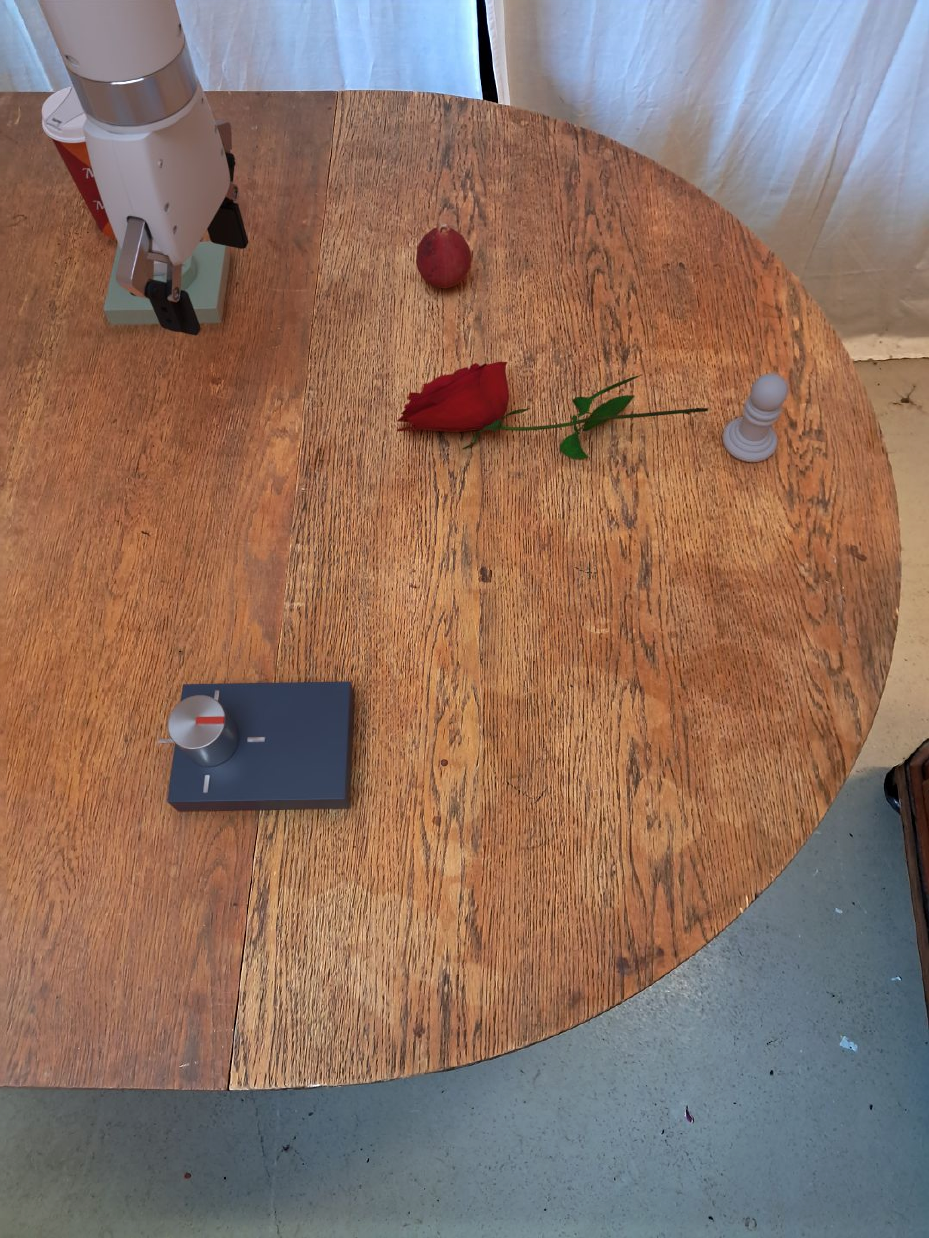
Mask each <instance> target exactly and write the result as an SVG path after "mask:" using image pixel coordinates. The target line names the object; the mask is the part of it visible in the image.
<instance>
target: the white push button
mask: <svg viewBox="0 0 929 1238" xmlns="http://www.w3.org/2000/svg"><path fill="white" fill-rule="evenodd" d="M152 250H156V251H161V250H160V249H159V248H158V247H157V245H156V244H155V243H154V240H153V244H152ZM161 252H162V251H161ZM166 274H167V263H163V262H158V261H154V276H164V275H166Z"/></svg>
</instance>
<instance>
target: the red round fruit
mask: <svg viewBox="0 0 929 1238" xmlns="http://www.w3.org/2000/svg"><path fill="white" fill-rule="evenodd" d="M415 265H416V269H417V271H418V273H419V274H420V276H421V278H422V280H423V281H424V282H426V283H427V284H429V285H430V286H432V287H435V288H439V289H448V288H451V287H454V286H457V285H459V284H461V282H462V281H464V280H465V278H466V277H467V276H468V273H469V271H470V270H471V268H472V252H471V247H470V245H469V244H468V242H467V240H466V239H465V237H464V236H463V235H462V234H461V233H460V232H458V231H457V230H455V229H453V228H451V227H450V225H449V223H447V222H442V223H441V224H440V225H438V226H436V227H434V228H432V229H430V230H429V231H428V232H427V233H425V234H424V235H423V237H422V238H421V240H420V241H419V243H418V244H417V248H416V259H415Z"/></svg>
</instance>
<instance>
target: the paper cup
mask: <svg viewBox="0 0 929 1238" xmlns="http://www.w3.org/2000/svg"><path fill="white" fill-rule="evenodd" d="M86 119H87V117H86V115H85V113H84V111H83V109H82V106H81V104H80V101H79V98H78V96H77V94H76V91H75V89H74V86H73V85H72V86H68V87H64V88H62V89H59V90H58V91H55V92H54V93H52V94H51V95H50V96H48V97H47V98H46V99H45V101H44V103H42V108H41V127H42V129H43V131H44V133H45V134H46V135H47V136H48V137H49V138H50V139H51V140H52V142H53V144H54V146H55V148H56V150H57V152H58V154H59V156H60V157H61V159H62V161H63V163H64V165H65V167H66V169H67V171H68V172H69V174H70V177H71V179H72V181H73V183H74V184H75V186H76V188H77V190H78V192H79V194H80V195H81V197H82V199H83V201H84V203H85V205H86V206H87V209H88V211H89V212H90V214H91V216H92V218H93V220H94V222H95V223H96V225H97V227H98V228H99V230H100V232H101V233H102V234H103V235H105V236H106V237H109V238H112V239H116V237H115V234H114V232H113V229H112V227H111V224H110V222H109V219H108V216H107V213H106V211H105V208H104V205H103V202H102V199H101V196H100V193H99V190H98V187H97V184H96V181H95V177H94V174H93V170H92V167H91V163H90V159H89V154H88V150H87V146H86V140H85V134H84V129H83V126H84V123H85V121H86Z"/></svg>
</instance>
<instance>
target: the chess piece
mask: <svg viewBox="0 0 929 1238" xmlns="http://www.w3.org/2000/svg"><path fill="white" fill-rule="evenodd" d="M788 394H789V385H788V382H787V381H786V380H785V379H784V378H783V376H781V375H780V374H777V373H773V372H768V373H764V374H762V375H760V376H759V377H757V378H756V379H755V381H754V382H753V383H752V385H751V388H750V391H749V395H748V397H747V398H746V401H745V403H744V404H743V409H742V413H743V416H738V417H736V418H733V419H732V420H730V421H729V422H728V423H727V424H726V425H725V427H724V429H723V431H722V443H723V446H724V448H725V450H726V451H727V453H729V454H730V455H731V456H732V457H734V458H735V459H737V460H740V461H742V462H746V463H759V462H762V461H766V460H767V459H768V458H770V457H771V456H772V455H773V454H775V452H776V450H777V448H778V435H777V432H776V431H775V429H774V427H773V426H772V425H773V424H775V423H776V422H777V421H778V419H779V417H780V415H781V413H782V409H783V404H784V403H785V401H786V400H787V398H788Z"/></svg>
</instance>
